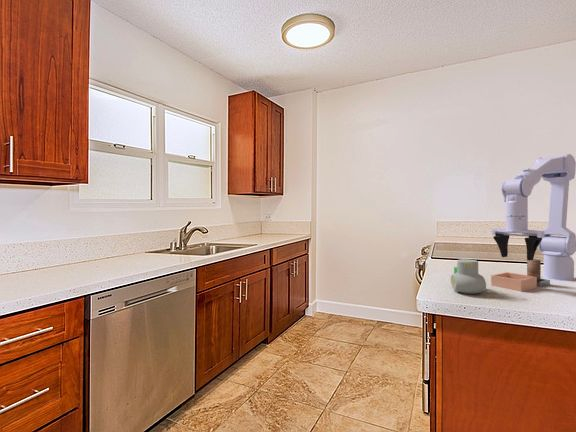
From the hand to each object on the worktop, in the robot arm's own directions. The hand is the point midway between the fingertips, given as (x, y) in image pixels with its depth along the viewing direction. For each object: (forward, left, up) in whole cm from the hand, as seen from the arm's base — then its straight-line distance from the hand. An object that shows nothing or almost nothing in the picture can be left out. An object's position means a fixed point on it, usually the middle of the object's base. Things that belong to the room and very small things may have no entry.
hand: (516, 258), depth 104 cm
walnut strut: (-9, 0, -9) cm, 13 cm away
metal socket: (-9, 0, -10) cm, 14 cm away
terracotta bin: (0, -1, -10) cm, 10 cm away
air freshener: (+16, -6, -10) cm, 20 cm away
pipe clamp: (+5, -14, -10) cm, 18 cm away
